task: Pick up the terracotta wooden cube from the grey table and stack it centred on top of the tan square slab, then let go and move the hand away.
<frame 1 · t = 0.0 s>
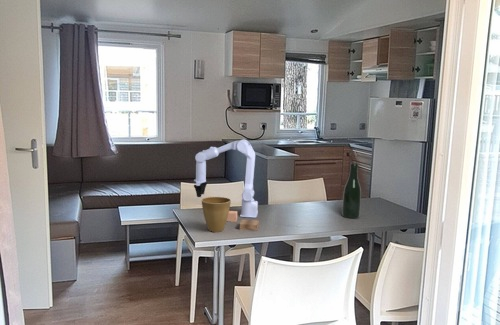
hand: (200, 195, 266), 10 cm above the table, fingers open, 7 cm apart
terracotta cube: (232, 220, 253), on the table
tan square slab: (249, 227, 241), on the table
plant pot: (215, 230, 235), on the table
green glass bottle: (350, 216, 270), on the table
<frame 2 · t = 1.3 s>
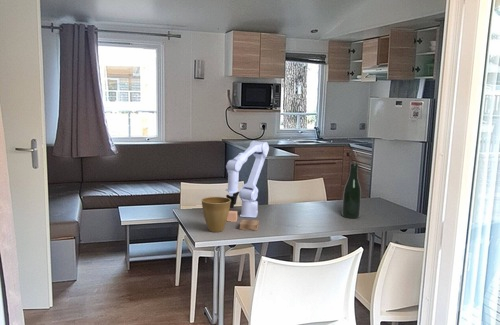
hand: (232, 206, 252), 8 cm above the table, fingers open, 7 cm apart
nothing on the table moved.
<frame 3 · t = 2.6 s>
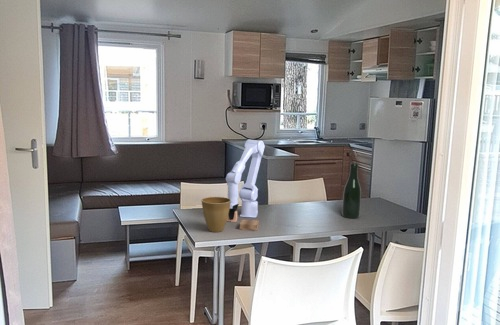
hand: (232, 218, 253), 1 cm above the table, fingers closed on terracotta cube, 5 cm apart
terracotta cube: (232, 220, 253), on the table, touching gripper
everything else where it was.
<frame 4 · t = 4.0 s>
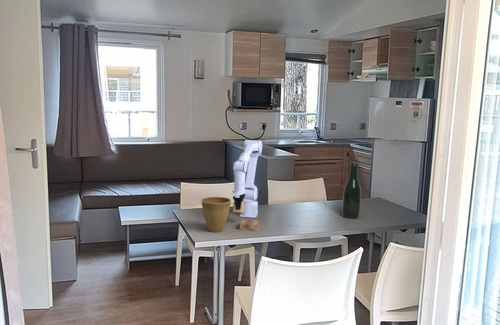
hand: (238, 208, 247), 8 cm above the table, fingers closed on terracotta cube, 5 cm apart
terracotta cube: (238, 211, 247), point 7 cm above the table, touching gripper
everything else where it was.
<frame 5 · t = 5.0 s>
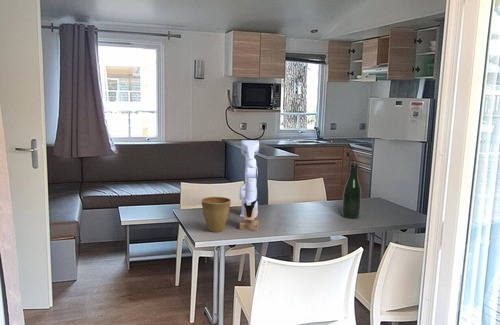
hand: (249, 215, 240), 7 cm above the table, fingers closed on terracotta cube, 5 cm apart
terracotta cube: (249, 218, 240), point 5 cm above the table, touching gripper
everything else where it was.
when the fingers open (6 cm above the table, at t = 5.6 s): terracotta cube drops 1 cm, resting on tan square slab.
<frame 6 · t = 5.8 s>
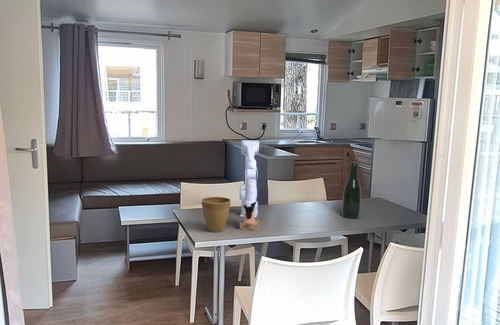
hand: (249, 216, 240), 6 cm above the table, fingers open, 6 cm apart
terracotta cube: (249, 222, 240), point 3 cm above the table, touching tan square slab
everything else where it was.
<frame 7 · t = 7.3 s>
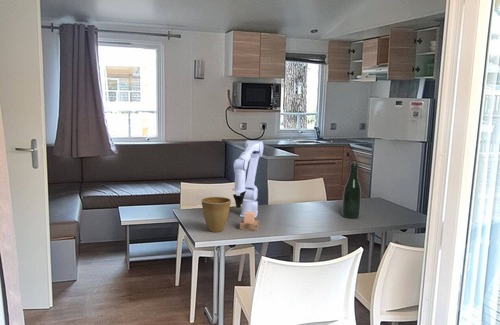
hand: (239, 205, 249), 9 cm above the table, fingers open, 7 cm apart
nothing on the table moved.
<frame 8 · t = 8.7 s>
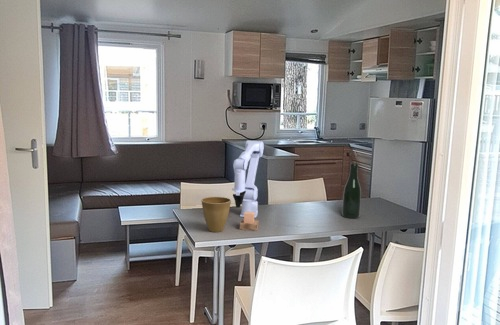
hand: (239, 205, 249), 9 cm above the table, fingers open, 7 cm apart
nothing on the table moved.
at the end: terracotta cube 0.2 cm off-centre on the tan square slab, point 3.0 cm above the tan square slab's base; terracotta cube tilted 0°; the gripper is holding nothing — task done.
